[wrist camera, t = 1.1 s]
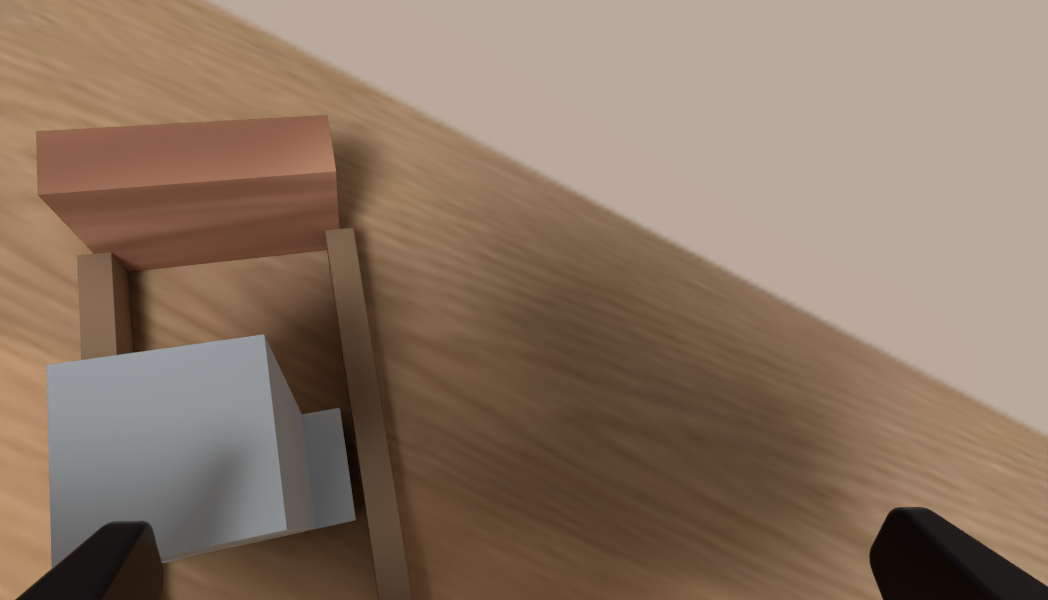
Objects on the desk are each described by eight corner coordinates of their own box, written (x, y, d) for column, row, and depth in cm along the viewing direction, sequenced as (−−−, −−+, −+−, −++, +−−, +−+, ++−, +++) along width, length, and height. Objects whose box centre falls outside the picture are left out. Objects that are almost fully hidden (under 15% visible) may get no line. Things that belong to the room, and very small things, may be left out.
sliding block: (355, 520, 19) (356, 514, 10) (156, 564, 17) (-37, 600, 9) (340, 413, 19) (329, 325, 11) (148, 447, 18) (-35, 376, 10)
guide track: (415, 643, 18) (436, 682, 14) (119, 726, 16) (25, 804, 12) (346, 201, 22) (343, 114, 17) (94, 224, 20) (15, 132, 15)
